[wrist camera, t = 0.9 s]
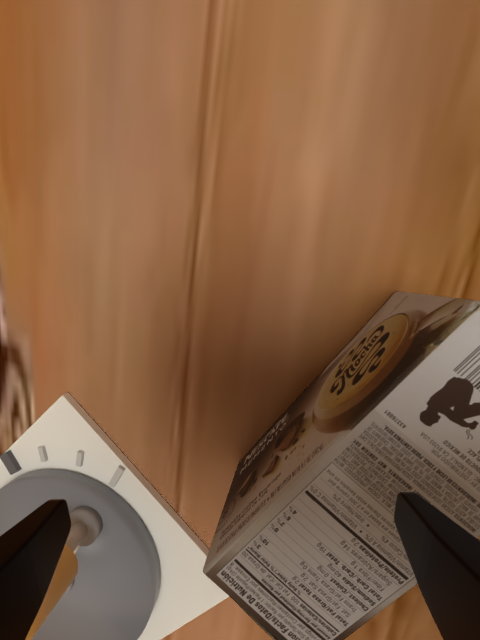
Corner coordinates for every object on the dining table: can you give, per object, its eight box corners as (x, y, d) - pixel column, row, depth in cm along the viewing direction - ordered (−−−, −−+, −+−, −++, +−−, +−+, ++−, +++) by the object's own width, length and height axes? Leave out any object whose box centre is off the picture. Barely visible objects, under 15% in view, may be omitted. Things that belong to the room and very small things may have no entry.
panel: (239, 583, 24) (236, 596, 23) (81, 682, 28) (74, 697, 27) (67, 392, 24) (58, 397, 23) (-63, 521, 28) (-76, 530, 27)
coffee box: (481, 354, 18) (305, 517, 22) (395, 287, 19) (236, 458, 22) (649, 427, 10) (308, 679, 13) (480, 296, 10) (195, 577, 14)
